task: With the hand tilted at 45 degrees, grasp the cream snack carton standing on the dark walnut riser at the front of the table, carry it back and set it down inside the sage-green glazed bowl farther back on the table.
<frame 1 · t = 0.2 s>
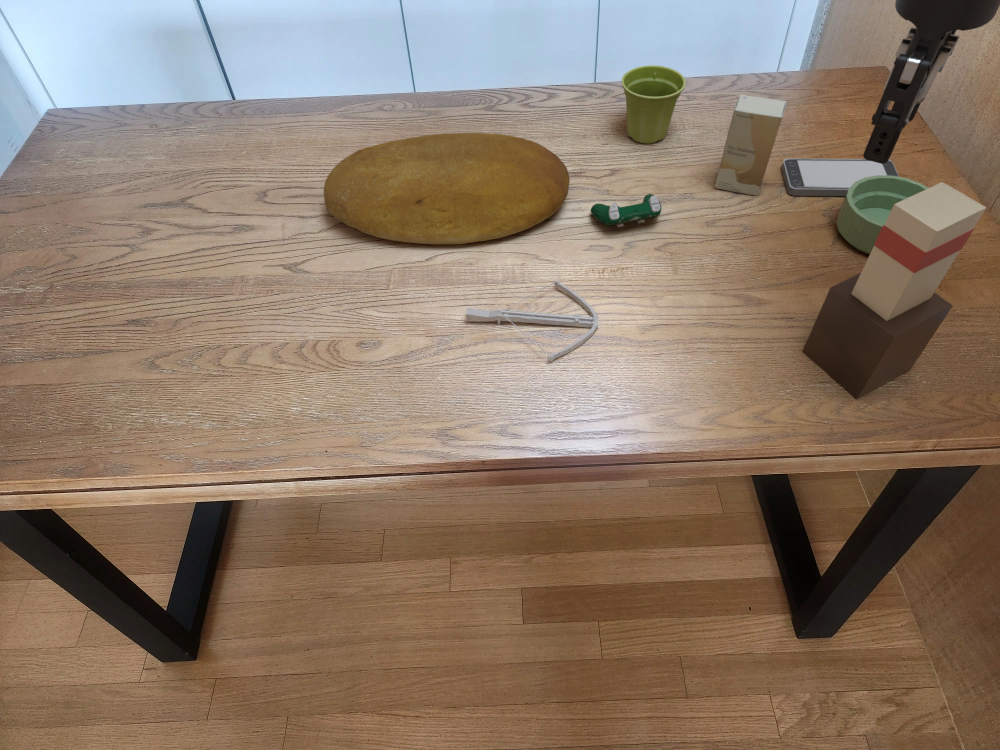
hand: (888, 138, 64), 21 cm above the table, tool pointing down, fingers open, 8 cm apart
riser: (855, 360, 74), on the table
smartphone: (838, 181, 94), on the table
crossbow: (531, 323, 81), on the table
bowl: (880, 233, 87), on the table
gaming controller: (627, 221, 92), on the table
plant pot: (647, 134, 105), on the table
snack carton: (890, 296, 66), point 10 cm above the table, touching riser
bread: (448, 209, 96), on the table
cosmetic box: (738, 185, 96), on the table
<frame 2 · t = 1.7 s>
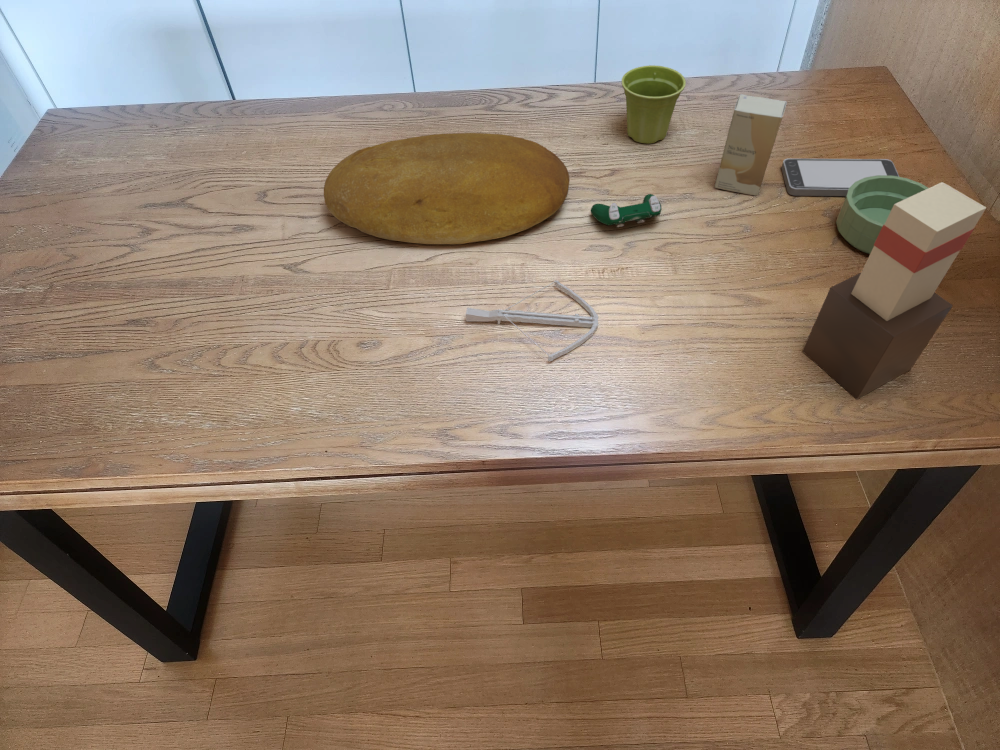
nothing on the table moved.
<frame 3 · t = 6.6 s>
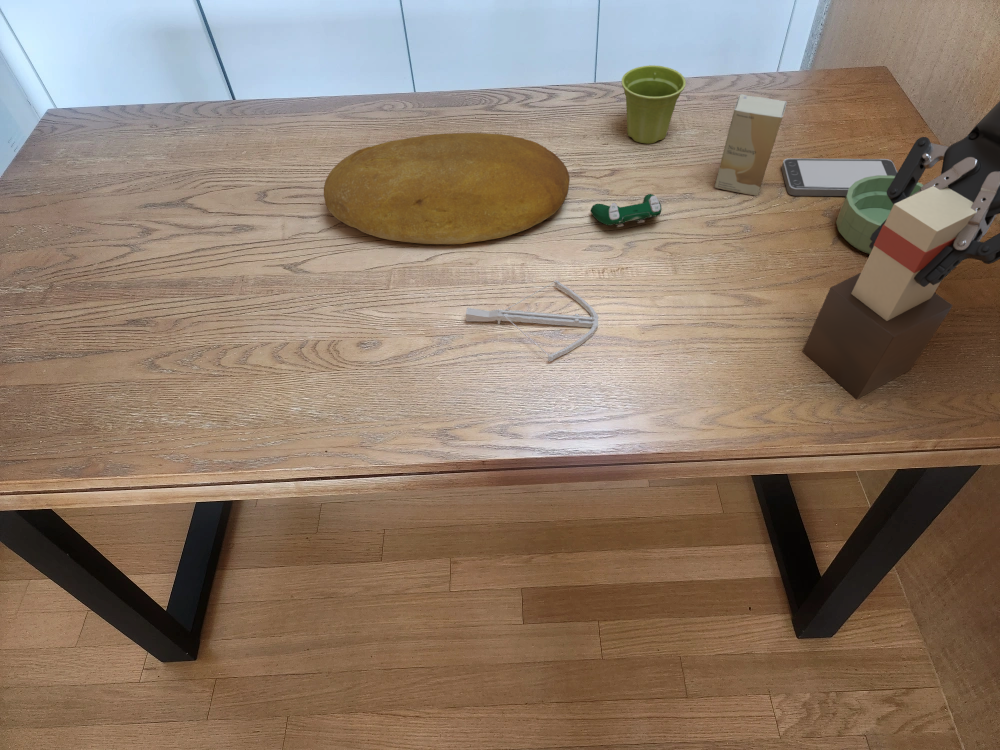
hand: (896, 266, 62), 15 cm above the table, tool tilted 45°, fingers closed on snack carton, 4 cm apart
snack carton: (890, 296, 66), point 10 cm above the table, touching gripper, riser
everything else where it was.
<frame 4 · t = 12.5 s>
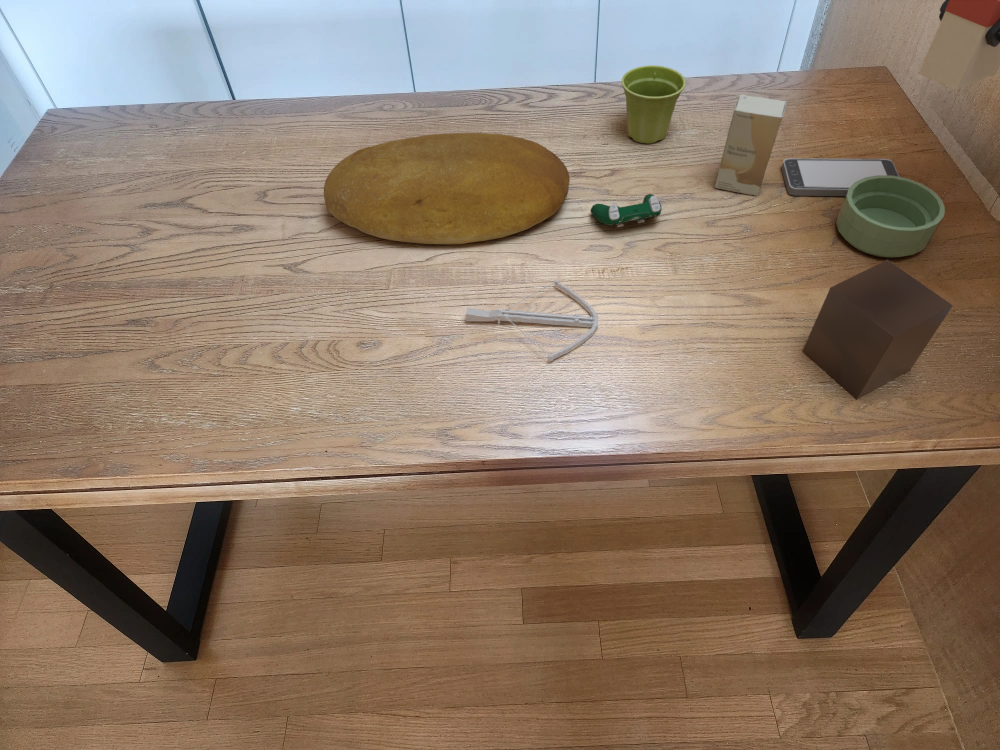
hand: (966, 30, 65), 27 cm above the table, tool tilted 45°, fingers closed on snack carton, 4 cm apart
snack carton: (956, 73, 70), point 22 cm above the table, touching gripper
everything else where it was.
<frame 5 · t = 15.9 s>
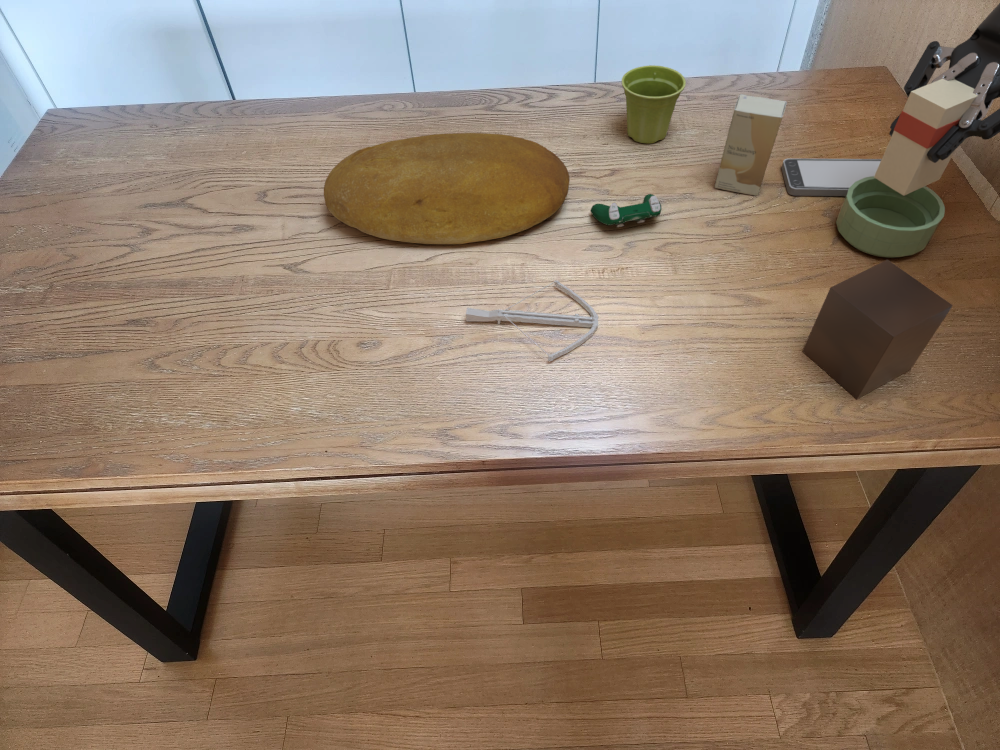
hand: (912, 147, 76), 13 cm above the table, tool tilted 45°, fingers closed on snack carton, 4 cm apart
snack carton: (906, 178, 81), point 8 cm above the table, touching gripper
everything else where it was.
when the fingers open (6 cm above the table, at t = 18.4 s): snack carton stays where it is, resting on bowl.
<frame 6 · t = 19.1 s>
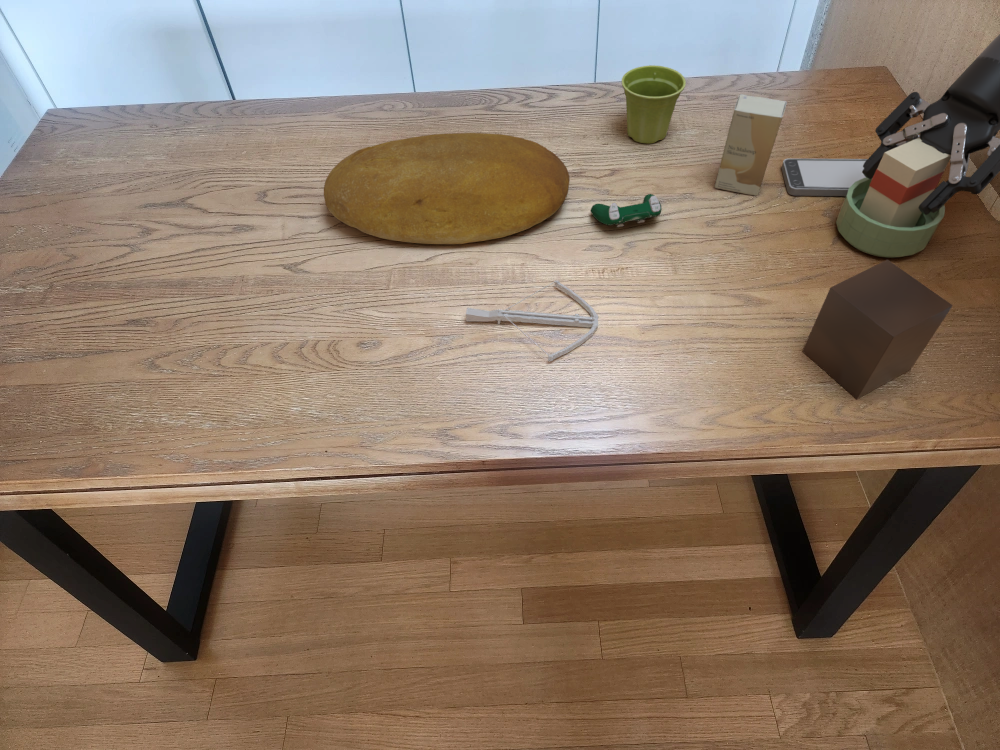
hand: (893, 193, 81), 7 cm above the table, tool tilted 45°, fingers open, 8 cm apart
snack carton: (882, 227, 87), point 1 cm above the table, touching bowl
everything else where it was.
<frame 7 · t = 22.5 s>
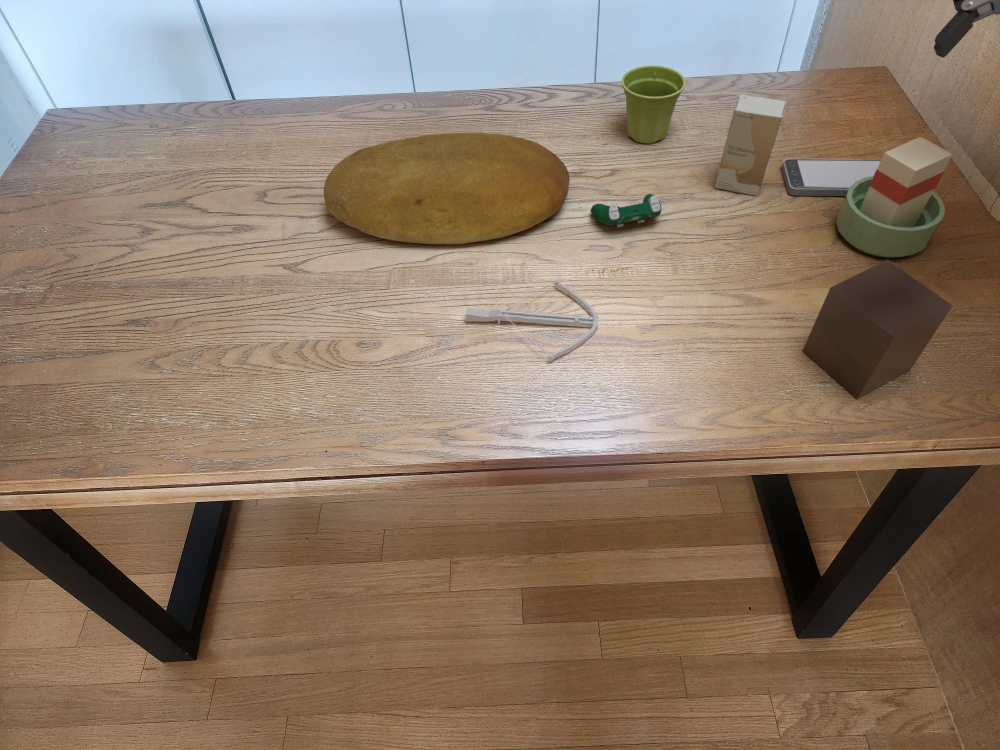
hand: (975, 69, 65), 25 cm above the table, tool tilted 45°, fingers open, 8 cm apart
nothing on the table moved.
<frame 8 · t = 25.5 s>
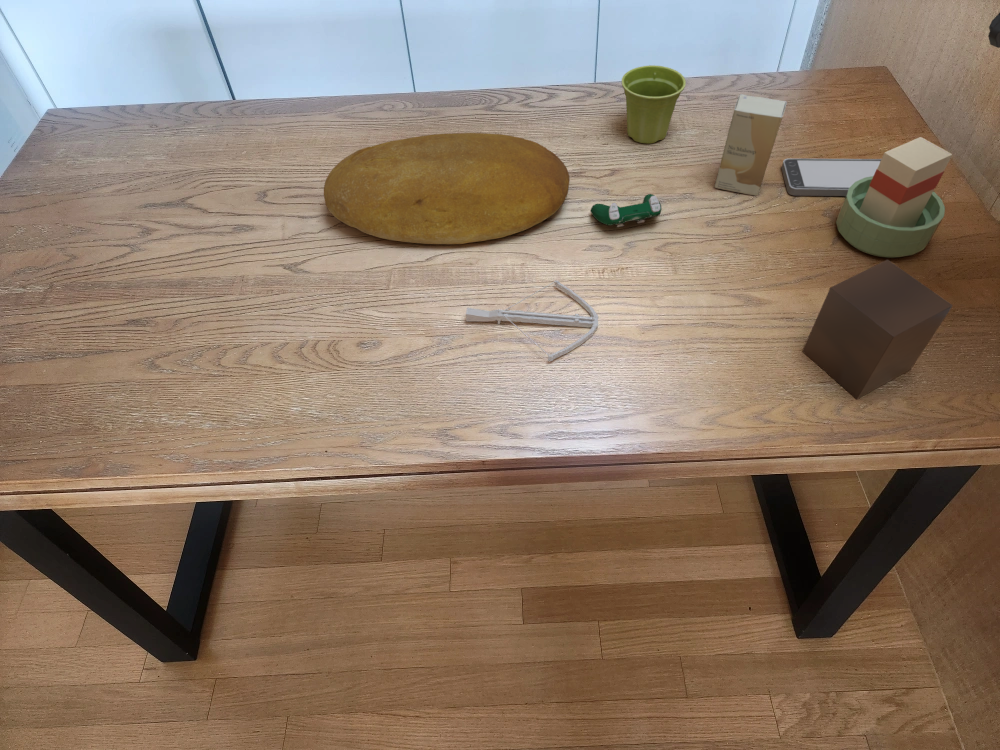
nothing on the table moved.
at the end: snack carton inside the target area in the bowl (0.1 cm from its centre), point 0.8 cm above the bowl's base; the gripper is holding nothing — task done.
